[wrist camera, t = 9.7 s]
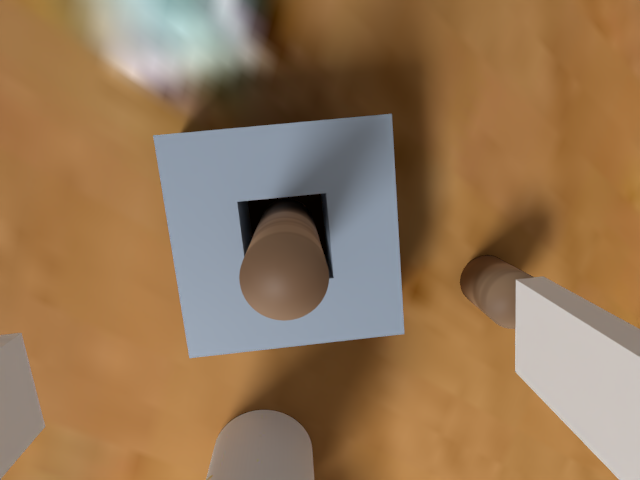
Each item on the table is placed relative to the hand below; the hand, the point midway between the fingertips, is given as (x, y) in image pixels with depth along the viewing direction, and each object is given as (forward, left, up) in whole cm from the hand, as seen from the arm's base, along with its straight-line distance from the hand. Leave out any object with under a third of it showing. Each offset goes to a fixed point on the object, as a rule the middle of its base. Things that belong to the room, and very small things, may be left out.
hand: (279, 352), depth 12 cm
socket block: (0, 0, -22) cm, 22 cm away
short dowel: (+6, +15, -22) cm, 28 cm away
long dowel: (0, 0, -22) cm, 22 cm away
